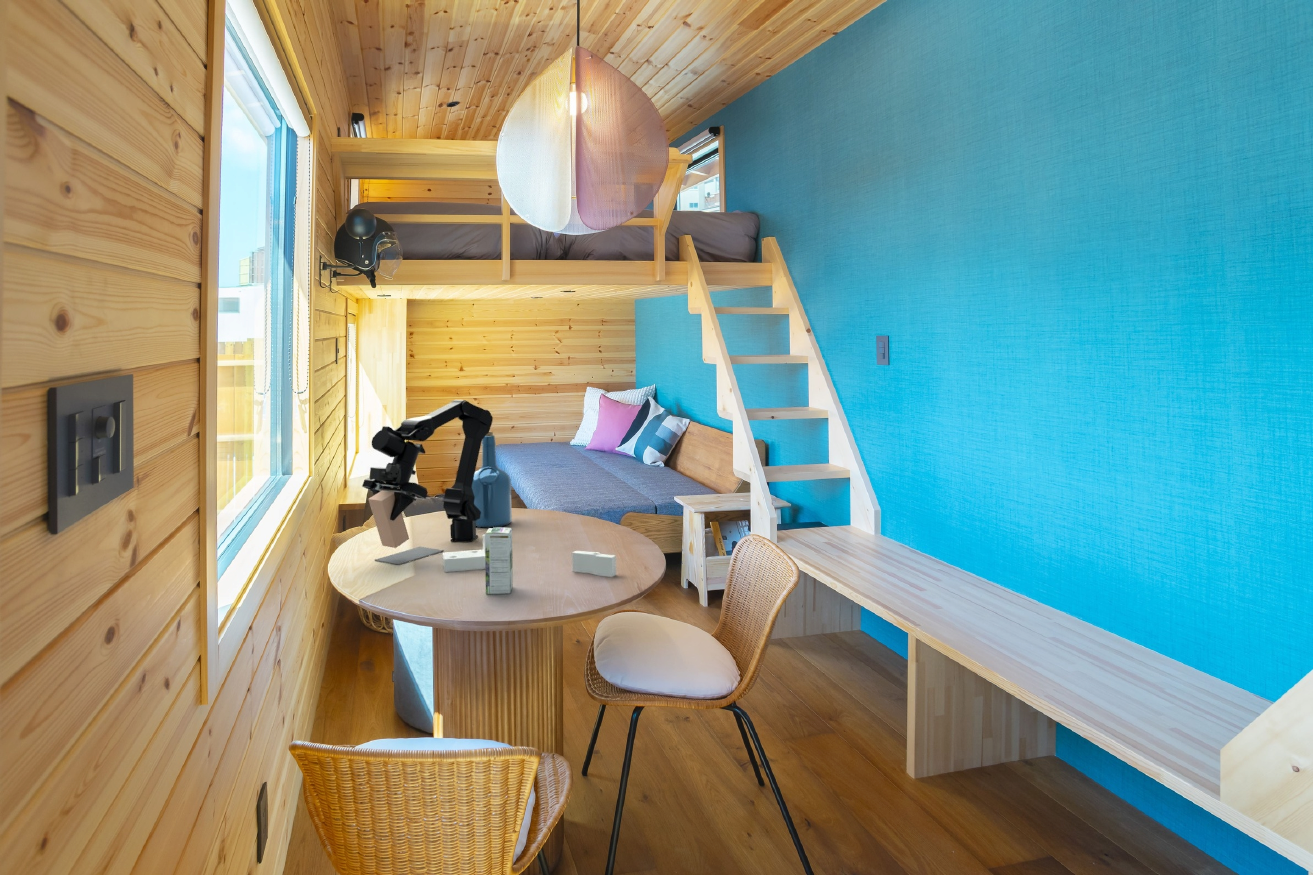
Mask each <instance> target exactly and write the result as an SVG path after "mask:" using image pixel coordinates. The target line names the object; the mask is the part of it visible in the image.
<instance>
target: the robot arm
mask: <svg viewBox="0 0 1313 875" xmlns="http://www.w3.org/2000/svg"><path fill="white" fill-rule="evenodd" d="M491 413H492V412H490V411H489V410H488V409H485V408H481V407H480V406H477V405H475V404H473V403H471V402H469V401H468V400H465V399H454V400H452V401H450V402H449V403H448V404H446V405H443V406H442V407H440V408H438V409H435V410H434V411H432V412H430V413H427V414H426V415H423V416H417V417H416V416H415V417H411V418H408V419H403V421H401V423H400V425H399V426H397V428H395V429H393V428H392V427H390V426H389V425H388V426H387V425H385V426H384V425H383V426H382V428H381V429H380V430H378V432H376V433H375V434H374V436H373V437H372V439H371V447H372V449H374V450H376V451H378V452H380V453H381V454H384V455H386V456H387V457H389V458H393V459H392V462H388V463H386V467H380V466H379V467H378V466H377V467H374V466H373V467H369V468H370V469H369V470H370V472H369V477H367V478H365V479H364V480H363V483H362V485H361V487H362V488H364V489H367V490H368V491H370V492H371V493H372V494H373V496H374V495H375V494H377V493H379V492H380V491H382V490H383V491H391V492H394V495H395V502H394V506H393V509H392V512H391V517H390V520H392V521H394V520H395V519H396V518H397V517H398V516H399V515H400V514H401V513H402V514H403V512H404V511H405V510H406V509H407V508H408V507H409V506H410V505H412V503H413V502H416V501H417V499H421V500H426V499H427V496H428V488H427V487H425V486H422V485H421V484H418V483H417V482H410V480H411V476H412V475H413V476H414V475H416V472H417V471H416V470H414V468H415V465H416V462H417V459H418V457H419V454H422V455H423V454H426V450H425V448H424V446H423V444H422V443H415V442H424V441H427V440H428V439H429V438H431V436H433V435H434V434H435V431H436V430H437V429H438V428H440V427H442V426H444V425H445V424H447V423H450V422H451V421H453V420H455V419H458V420H460V421H461V422H462V425H461V427H462V431H463V434H464V440H463V445H462V449H461V454H460V458H459V462H458V467H457V472H456V475H455V480H454V483H453V485H452V486H451V487H446V488H445V490H444V497H443V499H442V502H443V510H444V511H445V514H446V517H447V519H448V520H451V524H450V525H449V527H450V528H449V529H450V538H451V539H450V542H458V543H459V542H461V543H463V542H464V543H465V542H466V543H469V542H474V541H475V540H476V539H477V538H478V537H479V535H477V527H476V520H477V519H480V515H481V511H480V510H479V509H478V508H477V507H476V506H475V505H474V499H475V496H474V493H473V490H472V483H473V478H474V474H475V471H476V469H477V464H478V460H479V459H478V458H479V455H480V451H481V447H482V439H483V438H484V437H485V436H486V435H487V434H488V432H489V431H491V430H490V429H491V427H492V424H493V419H494V418H493V415H492V414H491ZM412 441H413V442H412ZM414 441H415V442H414Z"/></svg>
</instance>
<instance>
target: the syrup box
mask: <svg viewBox="0 0 1313 875" xmlns="http://www.w3.org/2000/svg"><path fill="white" fill-rule="evenodd" d="M513 571H514V569H513V529H512V528H511V527H503V526H500V527H493V528H487V531H486V532H485V571H484V572H485V576H484V577H485V594H486V595H502V594H503V595H504V594H511V592H512V589H513V585H514V584H513V582H514V581H513V580H514V579H513V576H514V575H513Z"/></svg>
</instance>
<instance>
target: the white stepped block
mask: <svg viewBox="0 0 1313 875" xmlns="http://www.w3.org/2000/svg"><path fill="white" fill-rule="evenodd" d="M571 557H572V558H571V559H572V560H571V564H572V569H571V570H572V572H575V573H584V574H592V575H595V576H600V577H609V578H613V577H614V576H616V575H617V566H616V565H617V555H616V554H615V555H614V554H606V553H605V554H602V553H601V552H597V551H584V550H575V551H572V553H571Z"/></svg>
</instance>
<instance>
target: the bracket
mask: <svg viewBox="0 0 1313 875" xmlns="http://www.w3.org/2000/svg"><path fill="white" fill-rule="evenodd" d="M485 534H486V533H485ZM485 534H482V535H481V536H482V549H474V550H460V551H448V552H447V551H445V552H441V553H442V565H443V572H444V573H447V572H449V573H450V572H461V571H473V570H474V571H475V570H483V569H485Z"/></svg>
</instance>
